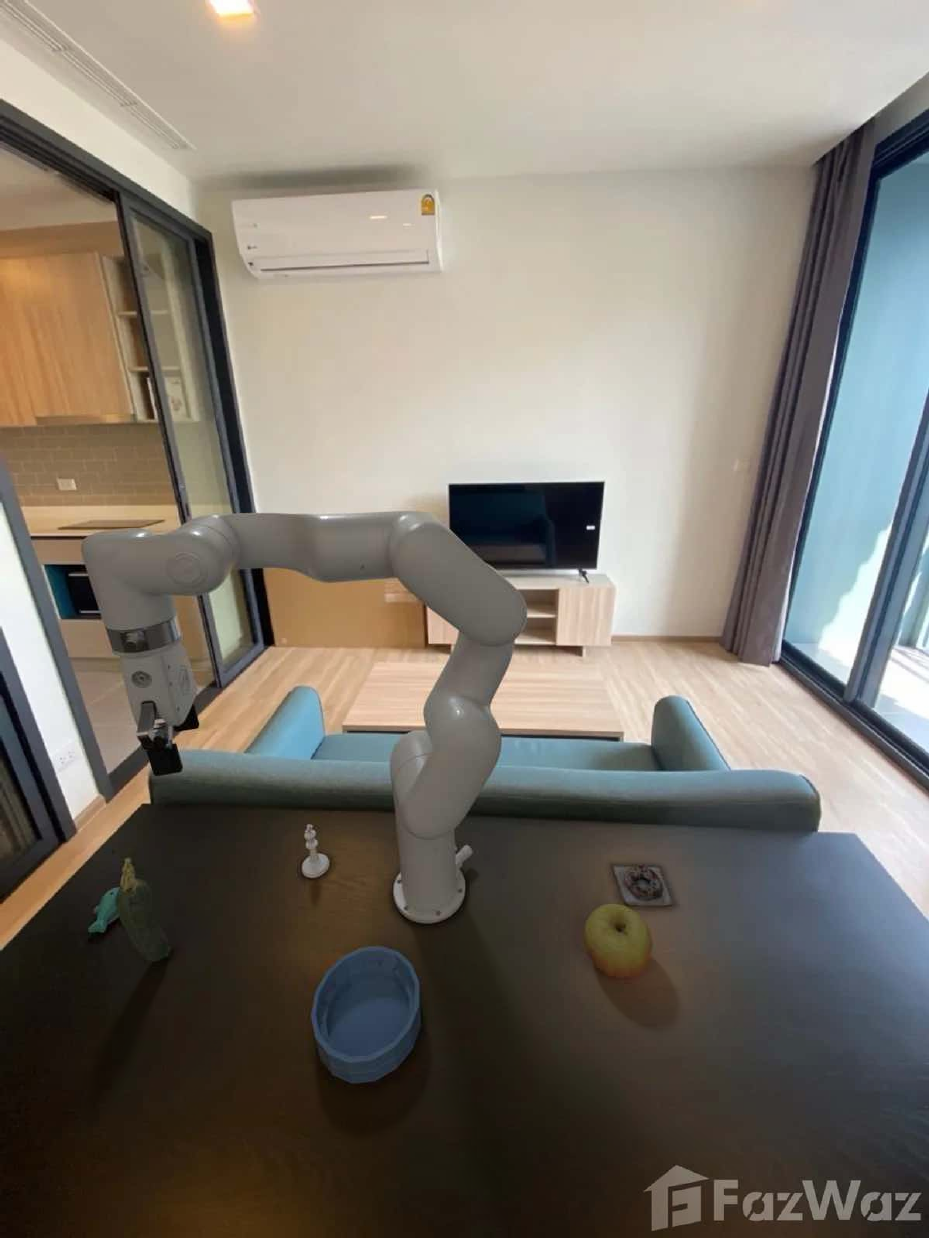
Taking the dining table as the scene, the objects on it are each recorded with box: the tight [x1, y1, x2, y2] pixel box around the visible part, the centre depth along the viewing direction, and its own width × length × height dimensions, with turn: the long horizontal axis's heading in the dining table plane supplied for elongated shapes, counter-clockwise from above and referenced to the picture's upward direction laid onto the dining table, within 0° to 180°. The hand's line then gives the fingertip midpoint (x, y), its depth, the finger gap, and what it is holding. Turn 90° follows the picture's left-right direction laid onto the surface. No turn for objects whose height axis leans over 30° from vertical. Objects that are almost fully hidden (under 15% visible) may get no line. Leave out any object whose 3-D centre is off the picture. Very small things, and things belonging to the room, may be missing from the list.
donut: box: [612, 863, 673, 907], centre depth 87 cm, size 8×8×2 cm
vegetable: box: [115, 857, 171, 963], centre depth 73 cm, size 4×4×20 cm
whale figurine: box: [87, 886, 121, 933], centre depth 84 cm, size 6×7×4 cm
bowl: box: [310, 945, 422, 1084], centre depth 68 cm, size 14×14×5 cm
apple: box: [583, 902, 653, 980], centre depth 75 cm, size 10×10×8 cm
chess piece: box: [301, 824, 330, 879], centre depth 91 cm, size 5×5×10 cm
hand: (178, 749), depth 67 cm, fingers open, 9 cm apart
